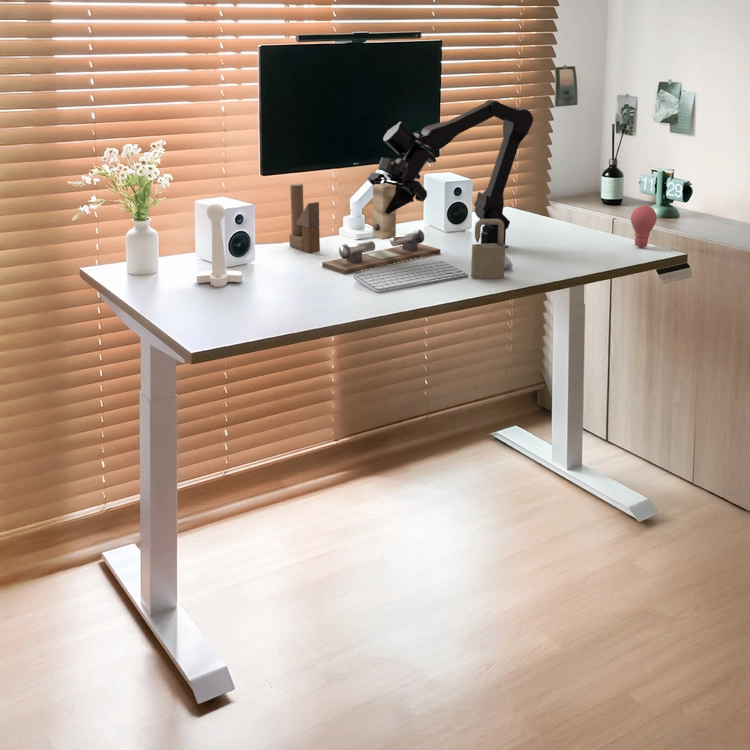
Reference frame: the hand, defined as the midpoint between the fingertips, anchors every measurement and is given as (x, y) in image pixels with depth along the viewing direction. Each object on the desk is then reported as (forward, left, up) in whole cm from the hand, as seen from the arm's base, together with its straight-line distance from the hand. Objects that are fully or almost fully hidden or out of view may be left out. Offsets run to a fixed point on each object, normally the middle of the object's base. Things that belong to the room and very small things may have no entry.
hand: (380, 211), depth 261 cm
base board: (-1, -1, -14) cm, 14 cm away
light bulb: (-70, +30, -14) cm, 78 cm away
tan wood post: (-1, 0, -7) cm, 7 cm away
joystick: (+46, -6, -14) cm, 48 cm away
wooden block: (+10, -24, -14) cm, 29 cm away
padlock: (-14, +29, -14) cm, 35 cm away
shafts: (-1, -1, -12) cm, 13 cm away
